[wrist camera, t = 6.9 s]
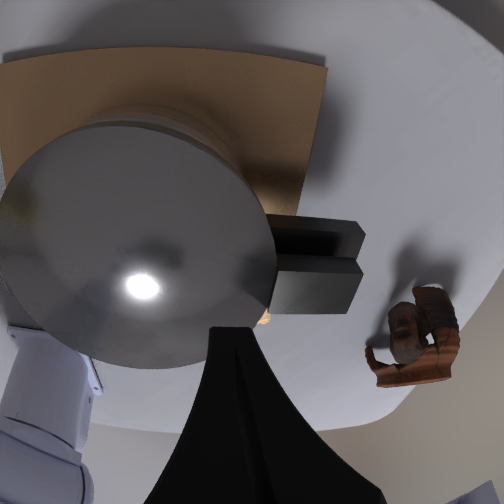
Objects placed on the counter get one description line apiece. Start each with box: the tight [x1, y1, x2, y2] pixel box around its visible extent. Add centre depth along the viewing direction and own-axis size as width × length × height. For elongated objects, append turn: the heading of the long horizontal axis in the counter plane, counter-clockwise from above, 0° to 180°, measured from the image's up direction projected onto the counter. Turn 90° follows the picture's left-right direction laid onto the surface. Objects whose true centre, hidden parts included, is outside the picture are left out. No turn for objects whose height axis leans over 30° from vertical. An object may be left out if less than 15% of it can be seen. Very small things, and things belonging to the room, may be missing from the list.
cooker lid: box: [0, 120, 364, 369], centre depth 13 cm, size 17×13×1 cm
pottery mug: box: [365, 287, 460, 388], centre depth 26 cm, size 12×10×8 cm
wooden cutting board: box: [0, 47, 366, 324], centre depth 16 cm, size 18×20×5 cm
